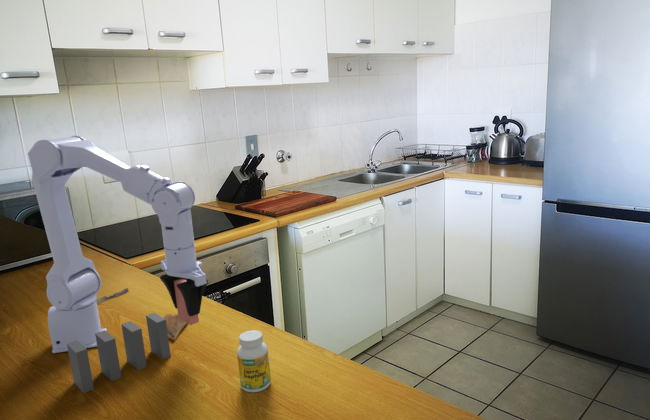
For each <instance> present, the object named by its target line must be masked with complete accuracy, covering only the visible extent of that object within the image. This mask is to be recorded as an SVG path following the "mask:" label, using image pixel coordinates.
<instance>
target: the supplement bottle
mask: <svg viewBox="0 0 650 420" xmlns="http://www.w3.org/2000/svg"><path fill="white" fill-rule="evenodd" d="M238 339H239V340H238V341H239V346H238V348H237V351H236V356H237V357H236V358H237V362H238V363H237V364H238V365H237V366H238V373H239V381H240V383H239V384H240V387H241V389H242V390H243V391H244V392H247V393H259V392H262V391H264V390H266V389H268V387H269V386H270V385H271V383H272V380H271V378H272V377H271V368H270V367H271V366H270V357H269V348H268V345H267V344H266V343H265V342H264V338H263V332H262V331H260V330H257V329H256V330H255V329H254V330H253V329H252V330H247V331H243V332H242V333H240V335H239V337H238Z"/></svg>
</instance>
